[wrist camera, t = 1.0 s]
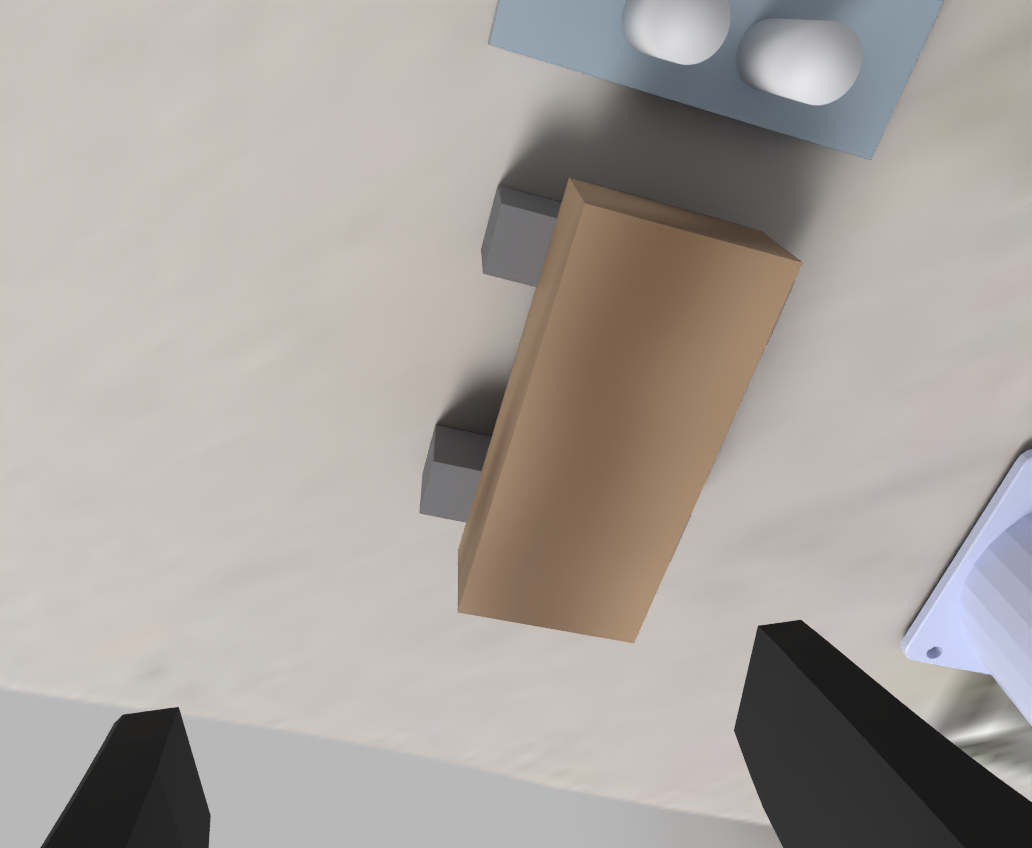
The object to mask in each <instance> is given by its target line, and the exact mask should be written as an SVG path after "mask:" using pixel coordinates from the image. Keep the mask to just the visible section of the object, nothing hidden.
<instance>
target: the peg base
mask: <svg viewBox="0 0 1032 848" xmlns="http://www.w3.org/2000/svg"><path fill="white" fill-rule="evenodd" d="M943 1H944V0H498V3H497V7H496V11H495V15H494V20H493V24H492V28H491V32H490V37H489V41H488V43H489V45H492V46H495V47H499V48H502V49H505V50H508V51H512V52H515V53H518V54H522V55H525V56H528V57H532V58H535V59H538V60H541V61H545V62H548V63H551V64H555V65H558V66H561V67H565V68H568V69H571V70H574V71H578V72H581V73H584V74H588V75H591V76H594V77H598V78H601V79H604V80H607V81H611V82H614V83H617V84H621V85H624V86H627V87H631V88H634V89H637V90H641V91H644V92H647V93H650V94H654V95H657V96H660V97H664V98H667V99H670V100H674V101H677V102H680V103H683V104H687V105H690V106H693V107H697V108H700V109H703V110H707V111H710V112H713V113H716V114H720V115H723V116H726V117H730V118H733V119H736V120H740V121H743V122H746V123H750V124H753V125H756V126H759V127H763V128H766V129H769V130H773V131H776V132H779V133H783V134H786V135H789V136H792V137H796V138H799V139H802V140H806V141H809V142H812V143H816V144H819V145H822V146H825V147H829V148H832V149H835V150H839V151H842V152H845V153H849V154H852V155H855V156H859V157H862V158H865V159H868V160H871V159H872V157H873V154H874V152H875V150H876V148H877V146H878V143H879V141H880V139H881V137H882V135H883V132H884V130H885V128H886V126H887V124H888V121H889V119H890V117H891V115H892V113H893V111H894V108H895V106H896V104H897V102H898V100H899V97H900V95H901V93H902V91H903V89H904V86H905V84H906V82H907V80H908V78H909V75H910V73H911V71H912V69H913V67H914V64H915V62H916V60H917V58H918V56H919V53H920V51H921V49H922V47H923V45H924V42H925V40H926V38H927V36H928V34H929V31H930V29H931V27H932V25H933V23H934V20H935V18H936V16H937V14H938V12H939V10H940V7H941V5H942V3H943Z"/></svg>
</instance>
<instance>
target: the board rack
mask: <svg viewBox="0 0 1032 848" xmlns="http://www.w3.org/2000/svg"><path fill="white" fill-rule="evenodd" d="M561 203H562V202H558V201H555V200H551V199H547V198H544V197H540V196H536V195H533V194H529V193H525V192H522V191H518V190H514V189H511V188H507V187H503V186H500V185H498V187H497V191H496V195H495V198H494V202H493V206H492V210H491V214H490V218H489V221H488V225H487V229H486V233H485V237H484V241H483V244H482V248H481V253H482V266H483V274H487V275H491V276H495V277H499V278H503V279H507V280H511V281H515V282H519V283H523V284H527V285H531V286H535V287H537V284H538V280H539V277H540V274H541V270H542V267H543V263H544V260H545V257H546V253H547V250H548V247H549V243H550V240H551V237H552V233H553V230H554V226H555V223H556V220H557V216H558V213H559V210H560V206H561ZM793 284H794V283H793ZM792 287H793V285H792ZM792 287H791V289H792ZM790 291H791V290H790ZM789 293H790V292H789ZM788 296H789V294H788ZM788 296H787V298H788ZM786 300H787V299H786ZM785 302H786V301H785ZM784 305H785V303H784ZM784 305H783V307H784ZM782 309H783V308H782ZM781 311H782V310H781ZM780 314H781V312H780ZM779 316H780V315H779ZM778 318H779V317H778ZM777 320H778V319H777ZM776 323H777V321H776ZM775 325H776V324H775ZM774 327H775V326H774ZM773 329H774V328H773ZM772 332H773V330H772ZM771 334H772V333H771ZM770 336H771V335H770ZM769 338H770V337H769ZM768 341H769V339H768ZM767 343H768V342H767ZM766 345H767V344H766ZM491 438H492V437H491V436H487V435H482V434H477V433H473V432H468V431H463V430H459V429H454V428H449V427H445V426H440V425H435V429H434V432H433V436H432V440H431V444H430V448H429V452H428V455H427V459H426V463H425V467H424V471H423V477H422V489H421V501H420V514H426V515H431V516H436V517H441V518H446V519H451V520H456V521H461V522H467V519H468V515H469V512H470V509H471V505H472V502H473V498H474V495H475V492H476V488H477V485H478V482H479V478H480V475H481V472H482V468H483V465H484V462H485V458H486V455H487V451H488V448H489V445H490V441H491ZM690 516H691V515H690ZM689 519H690V518H689ZM688 521H689V520H688ZM687 523H688V522H687ZM686 525H687V524H686ZM685 528H686V527H685ZM684 530H685V529H684ZM683 532H684V531H683ZM682 535H683V533H682ZM681 537H682V536H681ZM680 539H681V538H680ZM679 541H680V540H679ZM678 544H679V542H678ZM677 546H678V545H677ZM676 548H677V547H676ZM675 550H676V549H675ZM674 553H675V551H674ZM673 555H674V554H673ZM672 557H673V556H672ZM671 559H672V558H671ZM670 562H671V560H670Z"/></svg>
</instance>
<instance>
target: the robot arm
mask: <svg viewBox="0 0 1032 848" xmlns="http://www.w3.org/2000/svg"><path fill="white" fill-rule="evenodd" d="M932 647H933V648H932ZM930 648H932V649H930ZM901 649H902V651H903V652H904V654H905V655H906V657H907V658H908V659H911V660H913V661H919V662H924V663H930V664H935V665H941V666H946V667H952V668H957V669H963V670H968V671H974V672H979V673H984V674H990V675H992V676H993V677H994V678H995V680H996V681H997V682H998V684H999V685H1000V686H1001V687H1002V689H1003V690H1004V691H1005V692H1006V694H1007V695H1008V696H1009V698H1010V699H1011V700H1012V701H1013V703H1014V704H1015V705H1016V706H1017V708H1018V709H1019V710H1020V711H1021V713H1022V714H1023V715H1024V717H1025V718H1026V719H1027V720H1028V722H1029V723H1030V724H1031V725H1032V449H1030V450H1027V451H1026V452H1024V453H1023V454H1021V455H1020V456H1019V457H1018V459H1017V460H1016V461H1015V463H1014V465H1013V466H1012V468H1011V469H1010V471H1009V473H1008V474H1007V476H1006V477H1005V479H1004V480H1003V482H1002V484H1001V485H1000V487H999V488H998V490H997V491H996V493H995V495H994V496H993V498H992V499H991V501H990V502H989V504H988V506H987V507H986V509H985V510H984V512H983V514H982V515H981V517H980V518H979V520H978V521H977V523H976V525H975V526H974V528H973V529H972V531H971V532H970V534H969V536H968V537H967V539H966V540H965V542H964V544H963V545H962V547H961V548H960V550H959V551H958V553H957V555H956V556H955V558H954V559H953V561H952V562H951V564H950V566H949V567H948V569H947V570H946V572H945V573H944V575H943V577H942V578H941V580H940V581H939V583H938V585H937V586H936V588H935V589H934V591H933V592H932V594H931V596H930V597H929V599H928V600H927V602H926V603H925V605H924V607H923V608H922V610H921V611H920V613H919V614H918V616H917V618H916V619H915V621H914V622H913V624H912V626H911V627H910V629H909V630H908V632H907V633H906V635H905V637H904V638H903V640H902V642H901ZM734 732H735V734H736V737H737V740H738V743H739V745H740V748H741V751H742V754H743V756H744V759H745V762H746V765H747V767H748V770H749V773H750V775H751V778H752V780H753V783H754V786H755V788H756V791H757V793H758V796H759V798H760V801H761V803H762V806H763V808H764V810H765V812H766V814H767V816H768V818H769V820H770V822H771V824H772V826H773V828H774V830H775V832H776V834H777V836H778V838H779V840H780V842H781V844H782V846H783V848H1032V802H1031V801H1029V800H1028V799H1027V798H1025V797H1024V796H1022V795H1021V794H1020V793H1018V792H1017V791H1015V790H1014V789H1013V788H1011V787H1010V786H1009V785H1007V784H1006V783H1004V782H1003V781H1002V780H1000V779H999V778H998V777H996V776H995V775H994V774H992V773H991V772H990V771H988V770H987V769H986V768H984V767H983V766H982V765H980V764H979V763H978V762H976V761H975V760H974V759H972V758H971V757H970V756H968V755H967V754H966V753H965V752H963V751H962V750H961V749H959V748H958V747H957V746H956V745H954V744H953V743H952V742H950V741H949V740H948V739H947V738H945V737H944V736H943V735H942V734H940V733H939V732H938V731H936V730H935V729H934V728H933V727H931V726H930V725H929V724H928V723H926V722H925V721H924V720H923V719H921V718H920V717H919V716H918V715H916V714H915V713H914V712H913V711H911V710H910V709H909V708H908V707H907V706H905V705H904V704H903V703H902V702H900V701H899V700H898V699H897V698H895V697H894V696H893V695H892V694H891V693H889V692H888V691H887V690H886V689H885V688H883V687H882V686H881V685H880V684H878V683H877V682H876V681H875V680H874V679H872V678H871V677H870V676H869V675H868V674H866V673H865V672H864V671H863V670H862V669H860V668H859V667H858V666H857V665H856V664H854V663H853V662H852V661H851V660H849V659H848V658H847V657H846V656H845V655H843V654H842V653H841V652H840V651H839V650H837V649H836V648H835V647H834V646H833V645H831V644H830V643H829V642H828V641H827V640H825V639H824V638H823V637H822V636H820V635H819V634H818V633H817V632H816V631H814V630H813V629H812V628H811V627H809V626H808V625H807V624H806V623H804V622H803V621H802V620H796V621H789V622H782V623H775V624H768V625H761V626H758V628H757V632H756V637H755V641H754V646H753V650H752V654H751V659H750V663H749V667H748V672H747V676H746V680H745V685H744V689H743V693H742V698H741V702H740V707H739V711H738V715H737V720H736V724H735V728H734ZM209 831H210V812H209V809H208V805H207V802H206V799H205V795H204V792H203V788H202V785H201V782H200V779H199V775H198V771H197V768H196V765H195V761H194V758H193V754H192V751H191V747H190V744H189V741H188V737H187V734H186V730H185V727H184V724H183V720H182V717H181V713H180V710H179V707H175V708H168V709H160V710H153V711H146V712H139V713H132V714H125V715H122V716H121V717H120V718H119V719H118V720H117V721H116V722H115V723H114V725H113V727H112V729H111V730H110V732H109V734H108V736H107V737H106V739H105V741H104V743H103V745H102V746H101V748H100V750H99V751H98V753H97V755H96V757H95V758H94V760H93V762H92V763H91V765H90V767H89V769H88V770H87V772H86V774H85V776H84V777H83V779H82V781H81V782H80V784H79V786H78V787H77V789H76V791H75V793H74V794H73V796H72V797H71V799H70V801H69V803H68V804H67V806H66V807H65V809H64V811H63V812H62V814H61V815H60V817H59V819H58V820H57V822H56V823H55V825H54V827H53V829H52V830H51V832H50V833H49V835H48V837H47V838H46V840H45V841H44V843H43V845H42V846H41V848H209Z"/></svg>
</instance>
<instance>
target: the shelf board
mask: <svg viewBox="0 0 1032 848" xmlns="http://www.w3.org/2000/svg"><path fill="white" fill-rule="evenodd" d="M801 265H802V262H801V261H800V260H798V259H797V258H796V257H794V256H793V255H792V254H790V253H789V252H788V251H786V250H785V249H784V248H783V247H781V246H780V245H779V244H777V243H776V242H775V241H773V240H772V239H771V238H770V237H768V236H767V235H766V234H764V233H763V232H762V231H760V230H756V229H753V228H749V227H745V226H742V225H738V224H735V223H731V222H727V221H724V220H720V219H717V218H713V217H709V216H706V215H702V214H699V213H695V212H691V211H688V210H684V209H681V208H677V207H673V206H670V205H666V204H663V203H659V202H655V201H652V200H648V199H645V198H641V197H637V196H634V195H630V194H627V193H623V192H619V191H616V190H612V189H609V188H605V187H602V186H598V185H594V184H591V183H587V182H584V181H580V180H576V179H573V178H569V179H568V183H567V186H566V190H565V193H564V196H563V200H562V203H561V206H560V210H559V213H558V216H557V220H556V223H555V226H554V230H553V233H552V237H551V240H550V243H549V247H548V250H547V253H546V257H545V260H544V263H543V267H542V270H541V274H540V277H539V280H538V284H537V287H536V290H535V294H534V297H533V300H532V304H531V307H530V310H529V314H528V317H527V321H526V324H525V327H524V331H523V334H522V337H521V341H520V344H519V347H518V351H517V354H516V357H515V361H514V364H513V368H512V371H511V374H510V378H509V381H508V384H507V388H506V391H505V394H504V398H503V401H502V404H501V408H500V411H499V415H498V418H497V421H496V425H495V428H494V431H493V435H492V438H491V441H490V445H489V448H488V451H487V455H486V458H485V462H484V465H483V468H482V472H481V475H480V478H479V482H478V485H477V488H476V492H475V495H474V498H473V502H472V505H471V509H470V512H469V515H468V519H467V522H466V525H465V529H464V532H463V535H462V539H461V542H460V545H459V549H458V612H459V613H465V614H470V615H476V616H482V617H487V618H493V619H499V620H505V621H510V622H516V623H522V624H527V625H533V626H539V627H545V628H550V629H556V630H562V631H567V632H573V633H579V634H585V635H590V636H596V637H602V638H607V639H613V640H619V641H624V642H630V643H634V642H635V639H636V637H637V635H638V633H639V630H640V628H641V626H642V624H643V621H644V619H645V617H646V615H647V612H648V610H649V608H650V606H651V603H652V601H653V599H654V596H655V594H656V592H657V590H658V587H659V585H660V583H661V581H662V578H663V576H664V574H665V572H666V569H667V567H668V565H669V563H670V560H671V558H672V556H673V554H674V551H675V549H676V547H677V545H678V542H679V540H680V538H681V536H682V533H683V531H684V529H685V527H686V524H687V522H688V520H689V518H690V515H691V513H692V511H693V509H694V506H695V504H696V502H697V499H698V497H699V495H700V493H701V490H702V488H703V486H704V484H705V481H706V479H707V477H708V475H709V472H710V470H711V468H712V466H713V463H714V461H715V459H716V457H717V454H718V452H719V450H720V448H721V445H722V443H723V441H724V439H725V436H726V434H727V432H728V430H729V427H730V425H731V423H732V421H733V418H734V416H735V414H736V412H737V409H738V407H739V405H740V402H741V400H742V398H743V396H744V393H745V391H746V389H747V387H748V384H749V382H750V380H751V378H752V375H753V373H754V371H755V369H756V366H757V364H758V362H759V360H760V357H761V355H762V353H763V351H764V348H765V346H766V344H767V342H768V339H769V337H770V335H771V333H772V330H773V328H774V326H775V324H776V321H777V319H778V317H779V315H780V312H781V310H782V308H783V305H784V303H785V301H786V299H787V296H788V294H789V292H790V290H791V287H792V285H793V283H794V281H795V278H796V276H797V274H798V272H799V269H800V267H801Z"/></svg>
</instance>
